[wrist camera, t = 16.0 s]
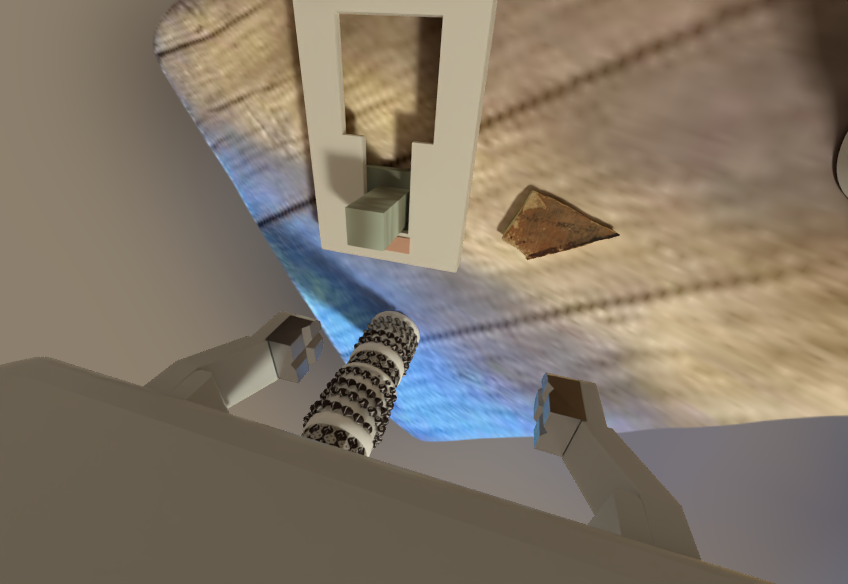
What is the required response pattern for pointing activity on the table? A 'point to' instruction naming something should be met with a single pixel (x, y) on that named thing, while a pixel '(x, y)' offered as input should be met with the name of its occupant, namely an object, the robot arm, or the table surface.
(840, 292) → the table surface
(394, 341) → the decorative candle
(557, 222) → the shard
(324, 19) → the keyhole plate
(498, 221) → the table surface
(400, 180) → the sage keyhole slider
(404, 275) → the table surface
